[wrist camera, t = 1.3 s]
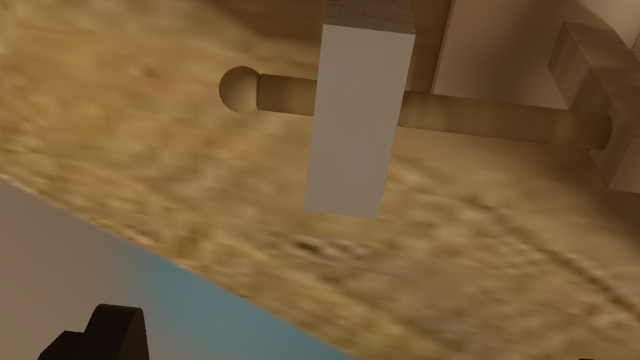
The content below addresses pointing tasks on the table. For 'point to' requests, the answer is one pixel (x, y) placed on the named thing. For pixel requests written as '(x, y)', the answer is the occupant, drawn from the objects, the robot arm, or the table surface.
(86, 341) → the robot arm
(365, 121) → the pinkish grey arch
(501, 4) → the stand
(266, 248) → the table surface
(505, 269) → the table surface
